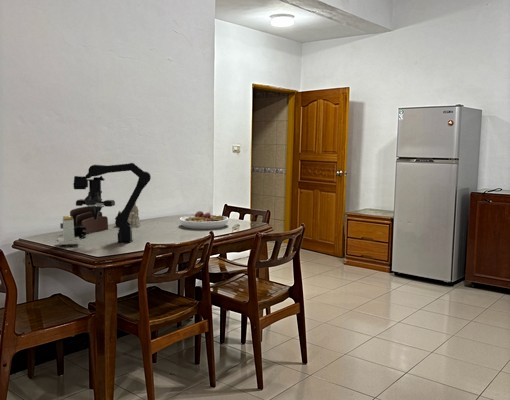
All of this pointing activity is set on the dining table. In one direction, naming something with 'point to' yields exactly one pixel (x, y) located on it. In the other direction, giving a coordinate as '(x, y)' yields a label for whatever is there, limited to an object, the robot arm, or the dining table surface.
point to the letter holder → (89, 220)
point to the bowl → (203, 221)
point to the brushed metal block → (68, 228)
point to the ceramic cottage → (134, 217)
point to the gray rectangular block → (69, 241)
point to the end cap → (79, 231)
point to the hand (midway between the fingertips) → (95, 219)
